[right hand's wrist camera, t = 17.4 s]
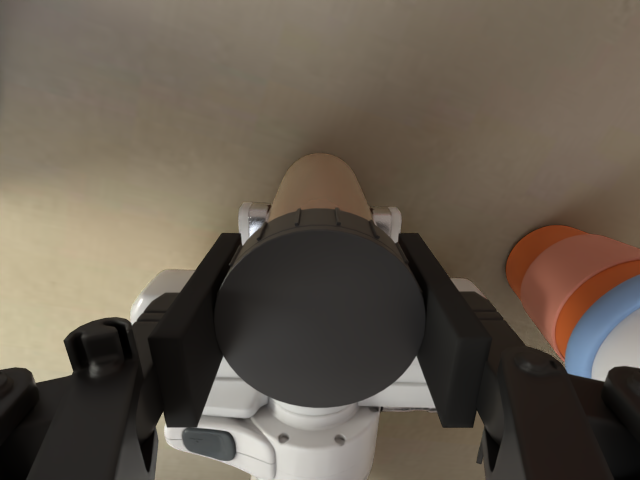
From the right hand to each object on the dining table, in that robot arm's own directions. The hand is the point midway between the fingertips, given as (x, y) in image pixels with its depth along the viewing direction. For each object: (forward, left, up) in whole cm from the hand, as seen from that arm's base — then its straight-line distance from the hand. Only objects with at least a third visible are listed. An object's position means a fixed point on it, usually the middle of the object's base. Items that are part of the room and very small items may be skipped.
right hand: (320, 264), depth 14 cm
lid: (0, 0, +4) cm, 4 cm away
